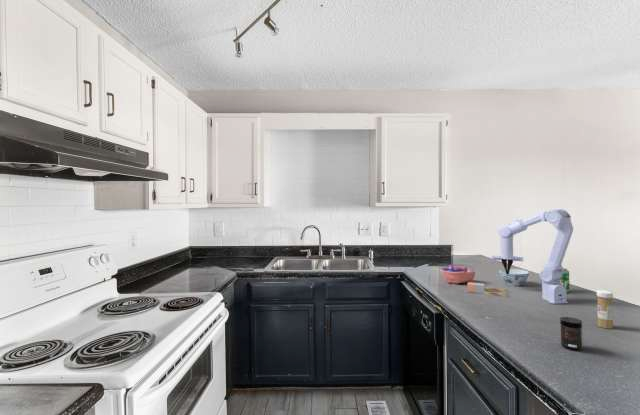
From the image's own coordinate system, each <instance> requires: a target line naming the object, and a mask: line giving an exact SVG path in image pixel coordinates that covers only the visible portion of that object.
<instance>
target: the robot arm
mask: <svg viewBox="0 0 640 415" xmlns="http://www.w3.org/2000/svg"><path fill="white" fill-rule="evenodd" d="M571 217H572V216H571V215H570V214H569V212H568V211H567V210H565V209H563V208H562V209H549V210H547V211H544V212H540V213H538V214H536V215H534V216H532V217H530V218H527V219H525V220H523V219H516V220H515V221H514V222H512V223H507V224H506V226H503V225H502V226H501V227H499V228H498V230H497V233H498V235H499V237H500V255H491V260H494V261H496V260H497V261H501V264H502V265H503V267H504V268H503V269H505V271H506V274H509V271H510V269H512V268H511V267H512V265H513V263H514V262H524V257H523V256H514V236H515V235H517V234H519V233H523V232H525V231H527V229H528V227H530V226H533V225H535V224H539V223H541V222H547V223H549V224H550V225H552V226H553V227H554V228H555V229H556V230H557V233H556V236H555V239H554V242H553V246H552V249H551V252H550V254H549V257H548V259H547V260H548V261H547V262H546V263H545V264H544V265H543V269H541V270H540V271H539V274H538V275H539V276H538V277H539V279H540V280H541V289H542V290H541V292H542V293H541V295H542V297H541V298H542V299H543V300H545V301H547V302H548V303H550V304H552V305H553V304H557V305H558V304H560V305H561V304H569V302H568V301H567V293H566V288H565V287H564V286H562V285H561V283H560V279H561V278H562V276H563V274H562V269H563V265H562V263H563V260H564V259H565V255H566V252H567V251H568V250H567V249H568V246H569V244H570V241H571V238H572V235H573V232H574V226H573V223H572V220H571ZM507 269H508V270H507Z"/></svg>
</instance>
